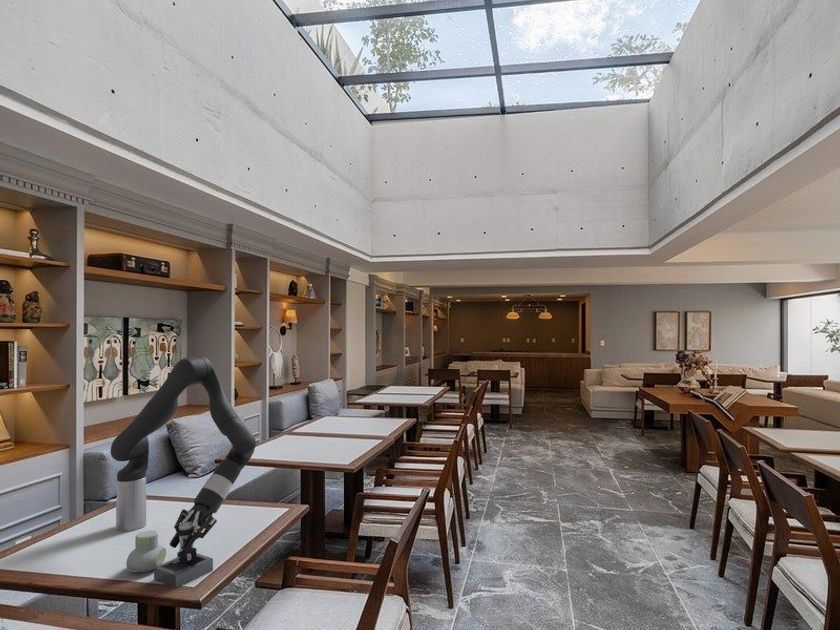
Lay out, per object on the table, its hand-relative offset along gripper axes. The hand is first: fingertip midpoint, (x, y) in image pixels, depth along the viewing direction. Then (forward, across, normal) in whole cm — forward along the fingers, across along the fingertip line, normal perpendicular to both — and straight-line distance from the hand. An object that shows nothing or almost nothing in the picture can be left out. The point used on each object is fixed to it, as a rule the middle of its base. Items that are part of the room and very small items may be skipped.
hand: (178, 548), depth 146 cm
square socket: (+5, 0, +7) cm, 8 cm away
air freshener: (+6, -14, +6) cm, 16 cm away
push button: (+2, 0, +4) cm, 5 cm away
